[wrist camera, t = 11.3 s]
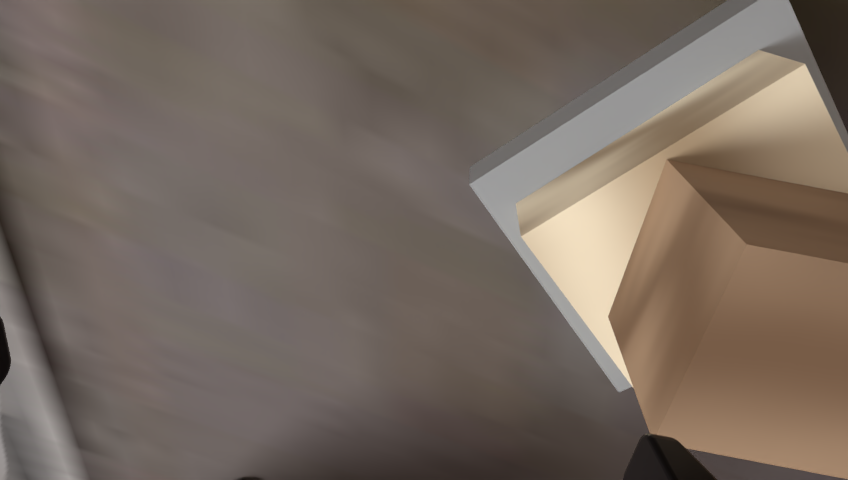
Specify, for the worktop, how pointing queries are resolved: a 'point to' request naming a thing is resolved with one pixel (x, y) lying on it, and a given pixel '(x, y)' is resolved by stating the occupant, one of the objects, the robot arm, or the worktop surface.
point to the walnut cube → (741, 318)
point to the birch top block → (684, 142)
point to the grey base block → (634, 121)
